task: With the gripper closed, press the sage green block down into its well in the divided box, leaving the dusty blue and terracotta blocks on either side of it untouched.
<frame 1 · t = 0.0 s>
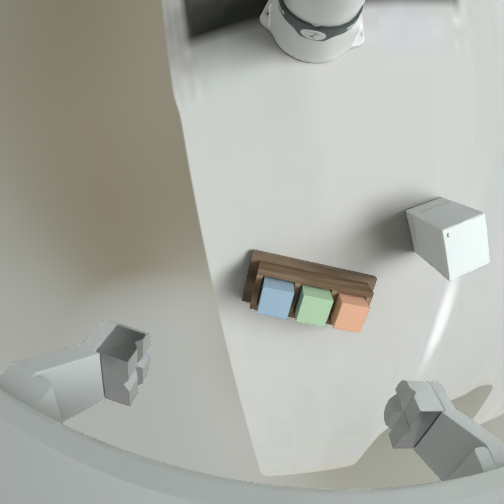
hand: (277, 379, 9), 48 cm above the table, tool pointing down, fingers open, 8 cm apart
divided box: (309, 287, 60), on the table
blue block: (275, 296, 53), point 7 cm above the table, slide at 0.0 cm
sage block: (313, 304, 53), point 7 cm above the table, slide at 0.0 cm
supplement box: (428, 224, 54), on the table
terracotta block: (348, 311, 53), point 7 cm above the table, slide at 0.0 cm
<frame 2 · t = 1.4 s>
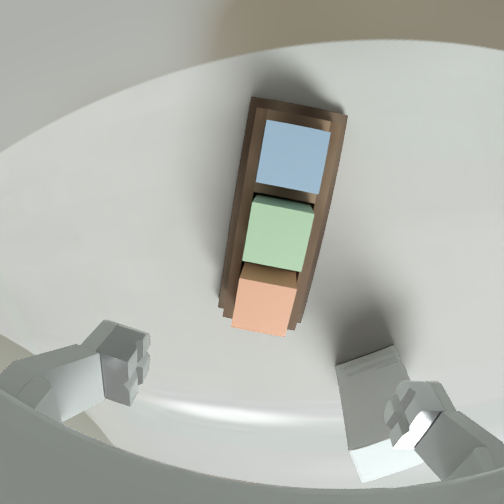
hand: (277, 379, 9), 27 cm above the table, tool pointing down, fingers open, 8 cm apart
divided box: (279, 214, 35), on the table
blue block: (292, 156, 26), point 7 cm above the table, slide at 0.0 cm
sage block: (278, 230, 28), point 7 cm above the table, slide at 0.0 cm
supplement box: (370, 375, 41), on the table
terracotta block: (264, 296, 30), point 7 cm above the table, slide at 0.0 cm
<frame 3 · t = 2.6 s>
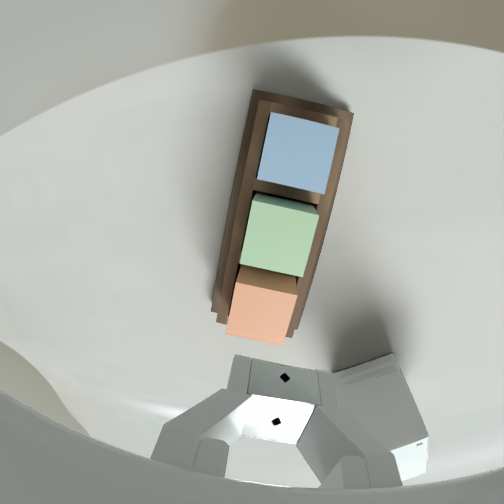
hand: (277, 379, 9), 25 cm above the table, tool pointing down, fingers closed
divided box: (278, 214, 33), on the table
blue block: (296, 152, 24), point 7 cm above the table, slide at 0.0 cm
sage block: (278, 231, 26), point 7 cm above the table, slide at 0.0 cm
supplement box: (366, 384, 39), on the table
terracotta block: (261, 302, 28), point 7 cm above the table, slide at 0.0 cm
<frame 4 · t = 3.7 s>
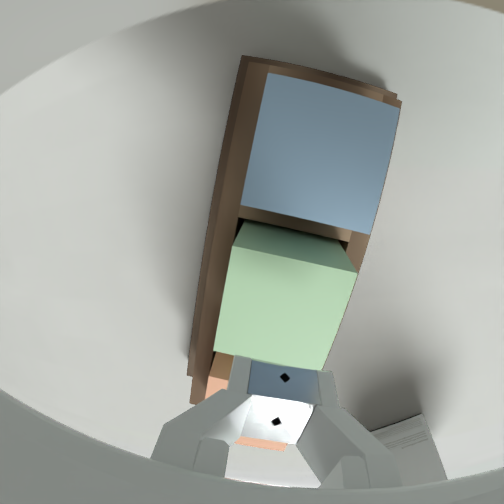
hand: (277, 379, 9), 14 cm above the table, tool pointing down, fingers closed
divided box: (281, 246, 22), on the table
blue block: (315, 152, 13), point 7 cm above the table, slide at 0.0 cm
sage block: (281, 290, 15), point 7 cm above the table, slide at 0.0 cm
supplement box: (386, 445, 28), on the table
terracotta block: (253, 388, 17), point 7 cm above the table, slide at 0.0 cm
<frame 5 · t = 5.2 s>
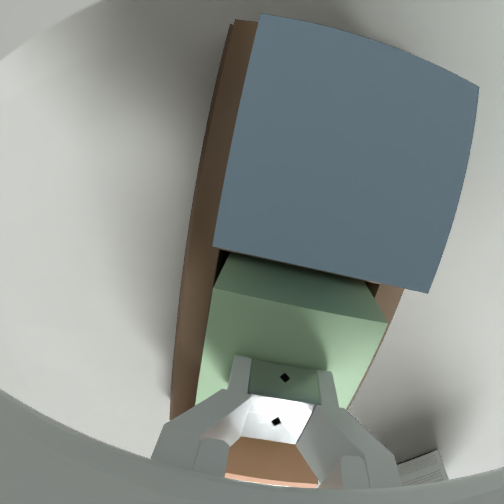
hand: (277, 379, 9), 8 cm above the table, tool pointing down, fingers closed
divided box: (282, 275, 17), on the table
blue block: (338, 153, 8), point 7 cm above the table, slide at 0.0 cm
sage block: (282, 334, 11), point 6 cm above the table, slide at 1.3 cm, touching gripper
supplement box: (395, 480, 23), on the table
terracotta block: (245, 459, 12), point 7 cm above the table, slide at 0.0 cm
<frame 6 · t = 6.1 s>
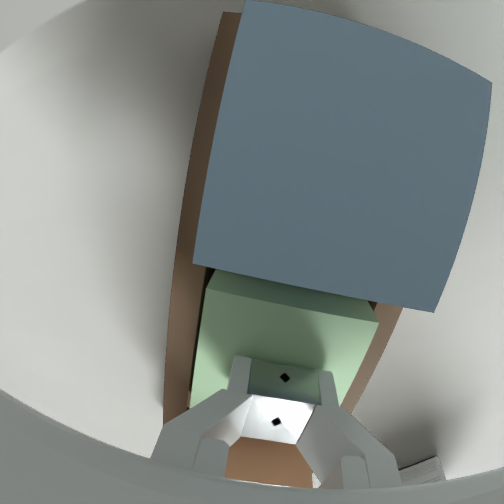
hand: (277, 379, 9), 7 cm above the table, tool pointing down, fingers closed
divided box: (277, 282, 16), on the table
blue block: (335, 155, 7), point 7 cm above the table, slide at 0.0 cm
sage block: (276, 333, 12), point 5 cm above the table, slide at 2.3 cm
supplement box: (394, 486, 23), on the table
terracotta block: (239, 473, 12), point 7 cm above the table, slide at 0.0 cm
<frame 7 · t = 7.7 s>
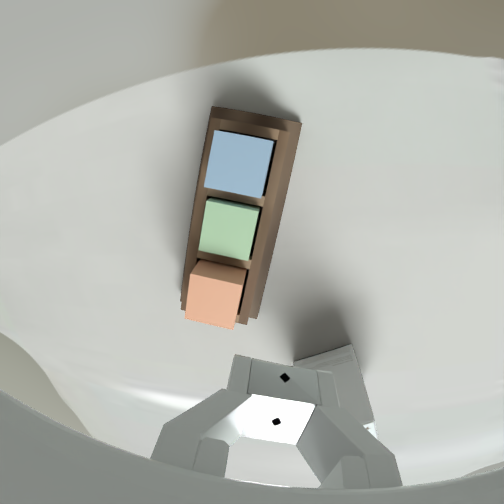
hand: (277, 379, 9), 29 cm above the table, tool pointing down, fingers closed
divided box: (236, 215, 37), on the table
blue block: (241, 162, 28), point 7 cm above the table, slide at 0.0 cm
sage block: (231, 225, 33), point 5 cm above the table, slide at 2.3 cm
supplement box: (328, 373, 44), on the table
terracotta block: (216, 291, 33), point 7 cm above the table, slide at 0.0 cm
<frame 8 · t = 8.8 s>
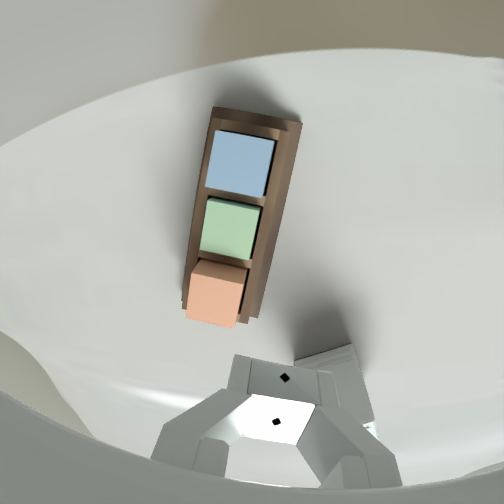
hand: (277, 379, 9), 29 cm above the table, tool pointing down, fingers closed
divided box: (237, 215, 37), on the table
blue block: (241, 162, 29), point 7 cm above the table, slide at 0.0 cm
sage block: (232, 224, 33), point 5 cm above the table, slide at 2.3 cm
supplement box: (329, 372, 44), on the table
terracotta block: (217, 290, 33), point 7 cm above the table, slide at 0.0 cm
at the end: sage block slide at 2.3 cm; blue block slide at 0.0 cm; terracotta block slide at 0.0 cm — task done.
